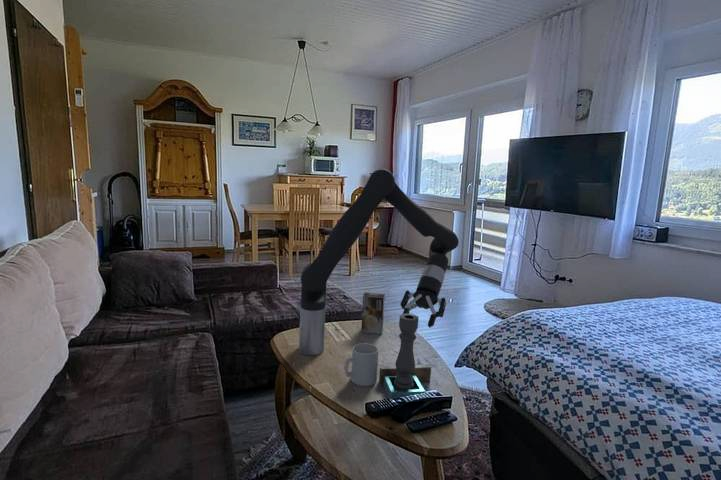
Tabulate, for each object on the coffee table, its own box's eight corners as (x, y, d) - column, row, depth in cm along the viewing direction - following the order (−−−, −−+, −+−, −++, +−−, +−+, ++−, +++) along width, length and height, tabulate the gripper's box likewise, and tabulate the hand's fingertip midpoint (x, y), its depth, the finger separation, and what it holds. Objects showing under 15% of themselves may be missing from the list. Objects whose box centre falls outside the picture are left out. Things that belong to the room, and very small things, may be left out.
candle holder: (413, 388, 129) (419, 314, 125) (412, 399, 123) (419, 321, 119) (393, 386, 130) (399, 312, 126) (392, 396, 124) (398, 319, 120)
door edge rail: (380, 384, 131) (381, 368, 130) (378, 380, 133) (379, 365, 132) (430, 382, 134) (431, 367, 133) (428, 379, 136) (429, 364, 135)
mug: (366, 371, 139) (368, 341, 137) (381, 382, 132) (384, 350, 130) (337, 379, 132) (338, 348, 130) (351, 392, 125) (353, 359, 123)
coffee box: (383, 329, 177) (385, 293, 174) (381, 334, 171) (384, 298, 168) (362, 326, 179) (364, 291, 176) (360, 332, 172) (362, 296, 170)
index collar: (390, 403, 120) (391, 392, 120) (383, 385, 130) (383, 375, 130) (424, 401, 122) (425, 391, 121) (414, 384, 132) (414, 374, 132)
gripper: (409, 271, 138) (393, 313, 130) (450, 278, 131) (436, 323, 123) (413, 283, 143) (398, 323, 135) (453, 290, 137) (439, 333, 129)
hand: (416, 323), depth 129 cm, fingers open, 8 cm apart
